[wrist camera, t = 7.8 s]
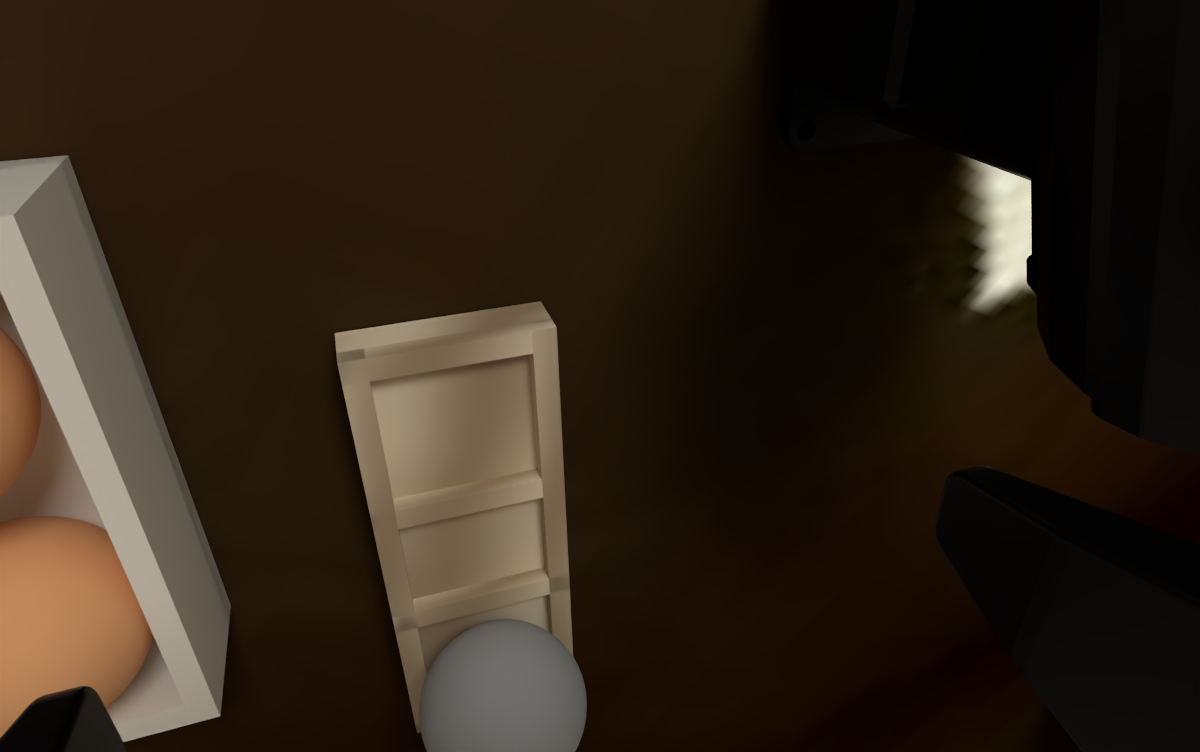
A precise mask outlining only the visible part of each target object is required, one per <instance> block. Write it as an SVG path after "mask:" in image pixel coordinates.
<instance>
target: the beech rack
mask: <svg viewBox="0 0 1200 752" xmlns="http://www.w3.org/2000/svg"><path fill="white" fill-rule="evenodd" d="M335 343H336V355H337V364H338V369H339V374H340V378H341V383H342V387H343V392H344V397H345V401H346V406H347V411H348V415H349V420H350V424H351V429H352V434H353V438H354V443H355V448H356V452H357V457H358V461H359V466H360V471H361V475H362V480H363V485H364V489H365V494H366V498H367V503H368V508H369V512H370V517H371V522H372V526H373V531H374V536H375V540H376V545H377V549H378V554H379V559H380V563H381V568H382V573H383V577H384V582H385V586H386V591H387V596H388V600H389V605H390V610H391V614H392V619H393V623H394V628H395V633H396V637H397V642H398V647H399V651H400V656H401V660H402V665H403V670H404V674H405V679H406V684H407V688H408V693H409V697H410V702H411V707H412V711H413V716H414V721H415V725H416V730H417V733H420V732H421V730H420V720H419V708H420V697H421V693H422V689H423V685H424V682H425V679H426V677H427V674H428V672H429V670H430V668H431V666H432V664H433V663H434V661H435V660H436V658H437V657H438V655H439V654H440V653H441V651H442V650H443V649H444V648H445V647H446V646H447V645H448V644H449V643H450V642H451V641H452V640H453V639H454V638H456V637H457V636H458V635H460V634H461V633H463V632H464V631H466V630H468V629H470V628H472V627H474V626H476V625H479V624H482V623H485V622H489V621H493V620H501V619H512V620H520V621H525V622H529V623H532V624H535V625H537V626H539V627H541V628H543V629H545V630H547V631H548V632H550V633H551V634H552V635H554V636H555V637H556V638H558V639H559V640H560V641H561V642H562V643H563V644H564V645H565V647H566V648H567V649H568V650H569V652H570V653H571V654H572V656H573V644H572V624H571V604H570V585H569V565H568V545H567V525H566V506H565V486H564V466H563V446H562V427H561V407H560V387H559V367H558V348H557V328H556V326H555V324H554V322H553V321H552V319H551V318H550V316H549V314H548V313H547V311H546V309H545V308H544V306H543V305H542V303H541V301H540V302H533V303H527V304H520V305H514V306H507V307H501V308H494V309H488V310H481V311H475V312H468V313H462V314H456V315H449V316H443V317H436V318H430V319H423V320H417V321H410V322H404V323H397V324H391V325H384V326H378V327H371V328H365V329H358V330H352V331H346V332H339V333H335Z"/></svg>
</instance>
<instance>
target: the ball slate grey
mask: <svg viewBox="0 0 1200 752" xmlns="http://www.w3.org/2000/svg"><path fill="white" fill-rule="evenodd" d="M586 711H587V699H586V691H585V684H584V681H583V677H582V674H581V672H580V669H579V667H578V665H577V663H576V661H575V659H574V658H573V656H572V654H571V653H570V652H569V650H568V649H567V648H566V647H565V645H564V644H563V643H562V642H561V641H560V640H559V639H558V638H556V637H555V636H554V635H552V634H551V633H550V632H548V631H547V630H545V629H543V628H541V627H539V626H537V625H535V624H532V623H529V622H525V621H520V620H512V619H501V620H493V621H489V622H485V623H482V624H479V625H476V626H474V627H472V628H470V629H468V630H466V631H464V632H463V633H461V634H460V635H458V636H457V637H456V638H454V639H453V640H452V641H451V642H450V643H449V644H448V645H447V646H446V647H445V648H444V649H443V650H442V651H441V653H440V654H439V655H438V657H437V658H436V660H435V661H434V663H433V664H432V666H431V668H430V670H429V672H428V674H427V677H426V679H425V682H424V685H423V689H422V693H421V697H420V708H419V720H420V730H421V734H422V739H423V742H424V745H425V748H426V750H427V752H575V751H576V749H577V747H578V745H579V742H580V740H581V737H582V734H583V730H584V726H585V720H586Z"/></svg>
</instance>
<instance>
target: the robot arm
mask: <svg viewBox="0 0 1200 752" xmlns="http://www.w3.org/2000/svg"><path fill="white" fill-rule="evenodd" d="M783 67H784V69H785V70H786V78H785V89H784V99H783V109H782V119H781V137H782V139H783V141H784V142H785V143H786V144H788V145H789V146H791V147H793V148H795V149H797V150H802V151H808V150H817V149H825V148H834V147H843V146H852V145H860V144H869V143H878V142H887V141H896V140H904V139H913V138H918V139H921V140H924V141H926V142H929V143H932V144H934V145H937V146H940V147H942V148H945V149H948V150H950V151H953V152H956V153H958V154H961V155H964V156H967V157H969V158H972V159H975V160H977V161H980V162H983V163H985V164H988V165H991V166H993V167H996V168H999V169H1001V170H1004V171H1007V172H1009V173H1012V174H1015V175H1017V176H1020V177H1023V178H1025V179H1028V180H1031V204H1032V255H1030V256H1029V257H1028V258H1027V283H1028V285H1029V286H1030V287H1031V289H1032V290H1033V291H1034V292H1035V294H1036V295H1037V327H1038V330H1039V332H1040V335H1041V338H1042V340H1043V343H1044V346H1045V348H1046V351H1047V354H1048V356H1049V359H1050V361H1051V362H1053V363H1054V364H1055V365H1056V366H1057V367H1058V368H1059V369H1060V370H1061V371H1062V372H1063V373H1064V374H1065V375H1066V376H1067V377H1068V378H1069V379H1070V380H1071V381H1072V382H1073V383H1074V384H1075V385H1076V386H1077V387H1078V388H1079V389H1080V390H1082V391H1083V392H1084V393H1085V394H1087V395H1088V396H1090V397H1091V408H1092V411H1093V413H1094V414H1095V415H1097V416H1098V417H1099V418H1100V419H1103V420H1105V421H1107V422H1109V423H1111V424H1113V425H1115V426H1117V427H1119V428H1121V429H1123V430H1125V431H1127V432H1129V433H1131V434H1133V435H1135V436H1138V437H1140V438H1142V439H1145V440H1149V441H1152V442H1155V443H1159V444H1162V445H1165V446H1169V447H1172V448H1175V449H1179V450H1182V451H1185V452H1189V453H1192V454H1195V455H1199V456H1200V0H788V11H787V21H786V31H785V42H784V52H783ZM805 120H807V123H808V127H807V129H806V132H805V133H804V134H803V135H801V136H799V137H798V129H799V126H800V125H801V123H802V122H803V121H805ZM934 532H935V537H936V540H937V542H938V545H939V547H940V548H941V550H942V552H943V553H944V555H945V556H946V558H947V559H948V561H949V563H950V564H951V566H952V567H953V569H954V571H955V572H956V574H957V575H958V577H959V578H960V580H961V582H962V583H963V585H964V586H965V588H966V590H967V591H968V593H969V594H970V596H971V597H972V599H973V601H974V602H975V604H976V605H977V607H978V609H979V610H980V612H981V613H982V615H983V616H984V618H985V620H986V621H987V623H988V624H989V626H990V628H991V629H992V631H993V632H994V634H995V636H996V637H997V639H998V640H999V642H1000V643H1001V645H1002V646H1003V648H1004V649H1005V651H1006V652H1007V654H1008V655H1009V657H1010V658H1011V659H1012V661H1013V662H1014V663H1015V665H1016V666H1017V667H1018V669H1019V670H1020V672H1021V673H1022V674H1023V676H1024V677H1025V678H1026V680H1027V681H1028V682H1029V683H1030V685H1031V686H1032V687H1033V689H1034V690H1035V691H1036V693H1037V694H1038V695H1039V696H1040V698H1041V699H1042V700H1043V702H1044V703H1045V704H1046V706H1047V707H1048V708H1049V709H1050V711H1051V712H1052V713H1053V715H1054V716H1055V717H1056V719H1057V720H1058V721H1059V722H1060V724H1061V725H1062V726H1063V728H1064V729H1065V730H1066V732H1067V733H1068V734H1069V735H1070V737H1071V738H1072V739H1073V741H1074V742H1075V743H1076V745H1077V746H1078V747H1079V749H1080V750H1081V751H1082V752H1200V545H1199V544H1196V543H1194V542H1191V541H1188V540H1186V539H1183V538H1180V537H1177V536H1175V535H1172V534H1169V533H1167V532H1164V531H1161V530H1158V529H1156V528H1153V527H1150V526H1148V525H1145V524H1142V523H1139V522H1137V521H1134V520H1131V519H1129V518H1126V517H1123V516H1121V515H1118V514H1115V513H1112V512H1110V511H1107V510H1104V509H1102V508H1099V507H1096V506H1093V505H1091V504H1088V503H1085V502H1083V501H1080V500H1077V499H1075V498H1072V497H1069V496H1066V495H1064V494H1061V493H1058V492H1056V491H1053V490H1050V489H1047V488H1045V487H1042V486H1039V485H1037V484H1034V483H1031V482H1029V481H1026V480H1023V479H1020V478H1018V477H1015V476H1012V475H1010V474H1007V473H1004V472H1001V471H999V470H996V469H993V468H991V467H987V466H975V467H971V468H967V469H963V470H959V471H955V472H953V473H951V474H950V475H949V476H948V478H947V479H946V482H945V485H944V488H943V492H942V496H941V500H940V504H939V507H938V511H937V515H936V519H935V523H934ZM0 752H126V751H125V747H124V743H123V741H122V738H121V736H120V734H119V732H118V731H117V729H116V727H115V725H114V723H113V721H112V719H111V717H110V715H109V713H108V711H107V710H106V708H105V706H104V704H103V702H102V700H101V698H100V696H99V695H98V693H97V692H96V691H95V690H94V689H93V688H92V687H89V686H79V687H75V688H71V689H67V690H63V691H59V692H55V693H51V694H47V695H43V696H41V697H39V698H37V699H36V700H34V701H33V702H32V703H31V704H30V705H29V706H28V707H27V708H26V709H25V710H24V711H23V712H22V713H21V715H20V716H19V717H18V718H17V719H16V720H15V721H14V723H13V724H12V725H11V726H10V727H9V728H8V729H7V731H6V732H5V733H4V734H3V735H2V736H1V737H0Z"/></svg>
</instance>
